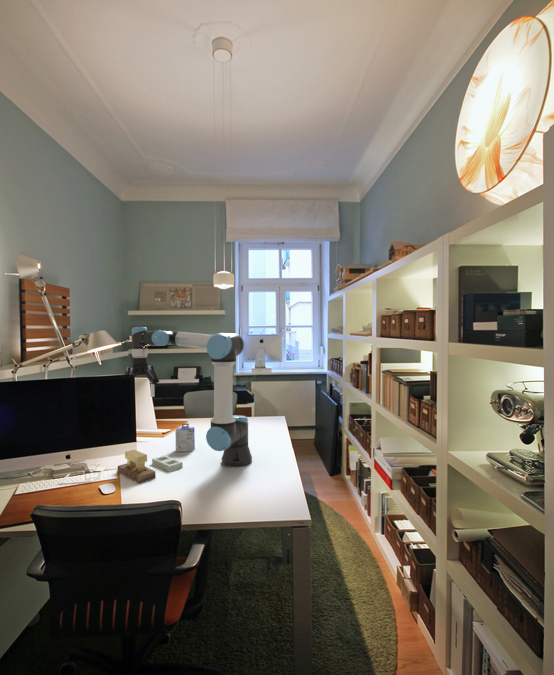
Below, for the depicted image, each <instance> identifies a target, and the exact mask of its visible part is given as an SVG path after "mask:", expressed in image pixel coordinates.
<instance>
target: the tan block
mask: <svg viewBox="0 0 554 675" xmlns="http://www.w3.org/2000/svg"><path fill="white" fill-rule="evenodd" d="M124 459H126V461H127V464H128V469H131V468H135V467H136V473H140V472H144V471H145V467H146V462H148V454H146V453H143V452H141V451H138V450H137V449H132V450H127V451H124Z"/></svg>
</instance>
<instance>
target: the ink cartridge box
mask: <svg viewBox="0 0 554 675" xmlns="http://www.w3.org/2000/svg"><path fill="white" fill-rule="evenodd" d="M181 424H182V425H181V427H177V428H176V429H175V432H174V433H175V453H177V452H179V453H180V452H194V450H195V449H196V447H195V446H196V445H195V440H196V439H195V438H196V437H195V435H196V434H195V426H191V427H190V426H189V425H190V424H189V423H181Z"/></svg>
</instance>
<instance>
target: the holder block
mask: <svg viewBox="0 0 554 675" xmlns="http://www.w3.org/2000/svg"><path fill="white" fill-rule="evenodd" d="M151 464H152V465H153V466H156V467H158V468H160V469H163V470H165V471H168V472H172V471H176V470H179V469H182V468H183V461H180V460H178V459H176V458H172V457H170V456H168V455H161V456H158V457H153V458H152V459H151Z"/></svg>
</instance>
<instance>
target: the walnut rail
mask: <svg viewBox="0 0 554 675" xmlns="http://www.w3.org/2000/svg"><path fill="white" fill-rule="evenodd" d="M117 473H118V474H120V475H122V476H124V477H126V478H127V479H129V480H132V481H133V482H135V483H137V484H141V483H144V482H147V481H148V482H149V481H150V480H153V479H156V470H153V469H151V468H149V467H147V466H145V471H144V472H140V473H136V467H135V468H131V469H128V464H127V463H124V464H120V465H117Z"/></svg>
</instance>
